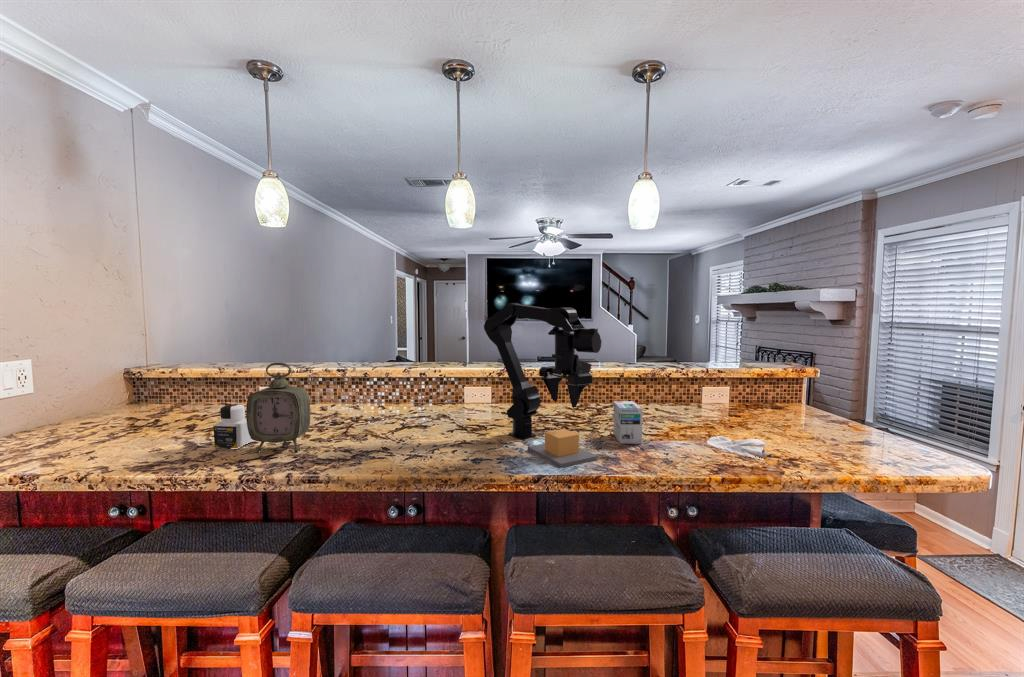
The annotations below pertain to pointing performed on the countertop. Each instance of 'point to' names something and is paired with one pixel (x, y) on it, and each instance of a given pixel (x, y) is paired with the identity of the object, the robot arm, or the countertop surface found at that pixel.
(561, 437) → the tan wooden cube
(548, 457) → the post board
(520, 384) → the robot arm
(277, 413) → the tabletop clock
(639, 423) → the light bulb box
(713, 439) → the cloth
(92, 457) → the countertop surface
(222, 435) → the medicine bottle
